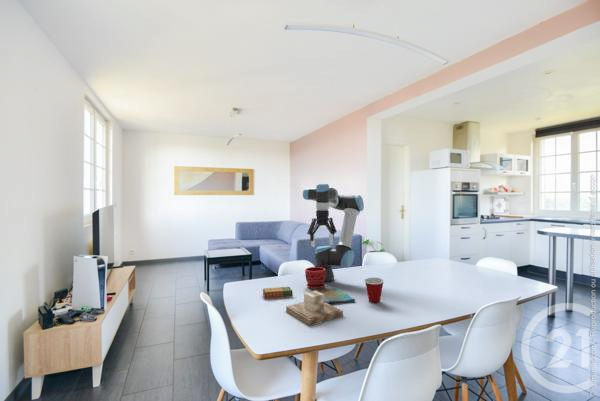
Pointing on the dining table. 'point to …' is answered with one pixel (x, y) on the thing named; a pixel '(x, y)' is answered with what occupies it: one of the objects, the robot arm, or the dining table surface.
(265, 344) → the dining table surface
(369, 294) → the plastic cup
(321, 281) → the plant pot
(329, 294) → the teal book
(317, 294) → the cube
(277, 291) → the carton
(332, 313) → the board
